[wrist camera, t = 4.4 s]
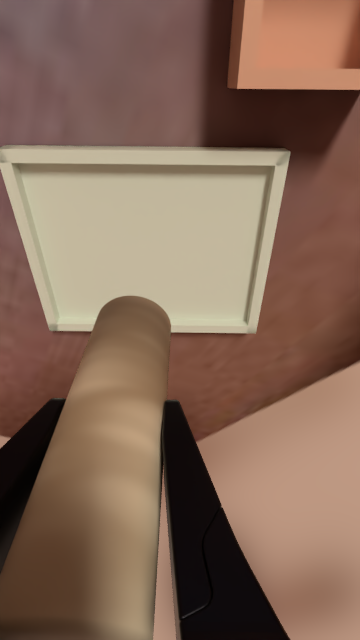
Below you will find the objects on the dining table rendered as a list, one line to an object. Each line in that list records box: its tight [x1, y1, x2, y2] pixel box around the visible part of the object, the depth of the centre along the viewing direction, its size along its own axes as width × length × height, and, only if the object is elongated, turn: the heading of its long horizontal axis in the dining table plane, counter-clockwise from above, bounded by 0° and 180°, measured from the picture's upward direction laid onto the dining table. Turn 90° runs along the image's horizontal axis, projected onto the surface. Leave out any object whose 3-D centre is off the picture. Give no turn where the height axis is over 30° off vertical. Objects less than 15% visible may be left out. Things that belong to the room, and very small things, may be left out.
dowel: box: [0, 296, 171, 640], centre depth 9 cm, size 3×3×9 cm
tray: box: [0, 145, 291, 333], centre depth 19 cm, size 14×11×1 cm
